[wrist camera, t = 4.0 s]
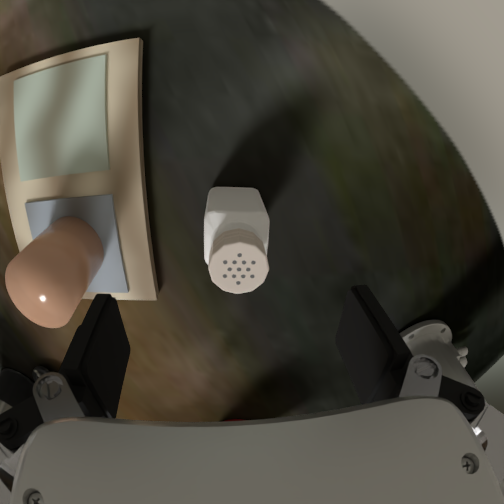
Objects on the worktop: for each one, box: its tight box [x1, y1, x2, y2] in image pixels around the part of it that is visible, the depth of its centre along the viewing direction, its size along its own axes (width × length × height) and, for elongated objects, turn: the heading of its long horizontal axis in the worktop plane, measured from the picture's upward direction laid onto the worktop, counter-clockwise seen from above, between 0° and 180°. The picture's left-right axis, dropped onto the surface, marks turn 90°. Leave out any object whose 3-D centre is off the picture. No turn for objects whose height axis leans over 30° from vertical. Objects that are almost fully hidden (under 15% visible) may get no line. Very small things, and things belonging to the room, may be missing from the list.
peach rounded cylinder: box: [5, 216, 104, 328], centre depth 20 cm, size 6×6×7 cm
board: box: [0, 38, 159, 300], centre depth 21 cm, size 14×22×2 cm, turn 178°
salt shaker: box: [204, 187, 270, 294], centre depth 20 cm, size 4×4×10 cm
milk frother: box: [0, 366, 50, 414], centre depth 27 cm, size 14×16×15 cm
